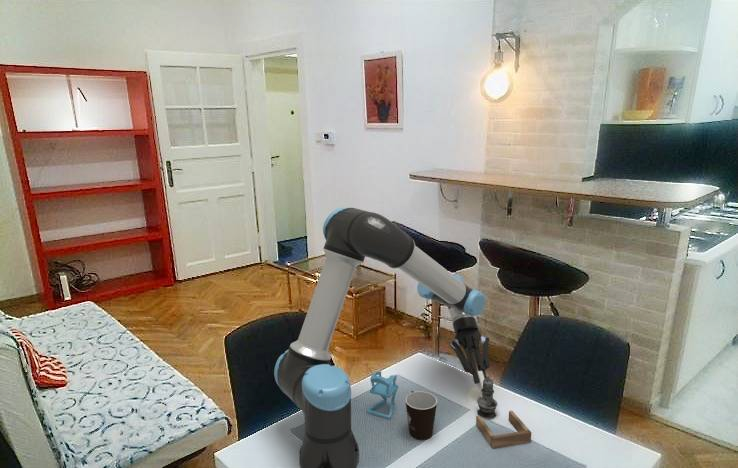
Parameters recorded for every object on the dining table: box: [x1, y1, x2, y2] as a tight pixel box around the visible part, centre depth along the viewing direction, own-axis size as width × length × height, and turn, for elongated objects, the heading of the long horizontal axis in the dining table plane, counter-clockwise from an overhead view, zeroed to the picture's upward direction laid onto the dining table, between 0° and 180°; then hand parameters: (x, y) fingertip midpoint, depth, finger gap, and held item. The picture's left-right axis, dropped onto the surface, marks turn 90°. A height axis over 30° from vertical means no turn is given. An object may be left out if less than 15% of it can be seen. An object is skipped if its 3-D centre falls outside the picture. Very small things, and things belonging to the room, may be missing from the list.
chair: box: [366, 370, 399, 421], centre depth 134 cm, size 8×8×12 cm
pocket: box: [475, 410, 532, 450], centre depth 123 cm, size 10×11×3 cm
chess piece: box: [476, 376, 499, 420], centre depth 131 cm, size 6×6×12 cm
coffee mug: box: [404, 390, 438, 441], centre depth 125 cm, size 12×9×10 cm
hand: (484, 393), depth 135 cm, fingers closed
